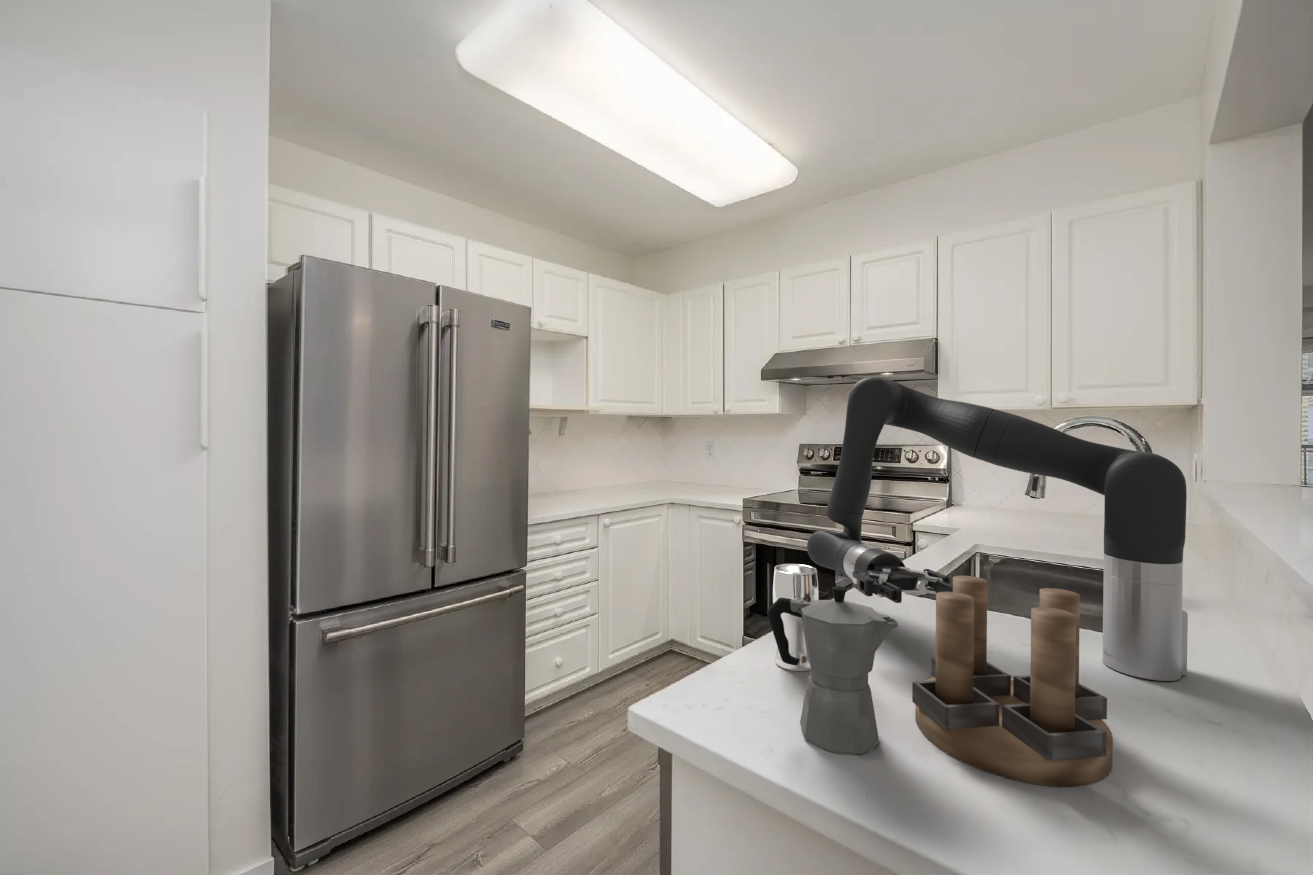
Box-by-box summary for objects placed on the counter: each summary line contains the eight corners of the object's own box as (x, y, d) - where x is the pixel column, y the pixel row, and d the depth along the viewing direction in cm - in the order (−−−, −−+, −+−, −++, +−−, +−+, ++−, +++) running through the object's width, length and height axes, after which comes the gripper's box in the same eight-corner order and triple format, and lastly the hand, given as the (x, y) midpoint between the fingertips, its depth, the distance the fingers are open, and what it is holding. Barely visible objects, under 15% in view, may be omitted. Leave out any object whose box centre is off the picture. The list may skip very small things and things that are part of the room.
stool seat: (1020, 691, 80) (1022, 571, 80) (1164, 780, 60) (1166, 619, 60) (884, 699, 78) (885, 575, 77) (986, 793, 58) (987, 627, 57)
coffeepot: (901, 729, 70) (902, 584, 70) (892, 770, 62) (893, 605, 61) (778, 701, 77) (778, 569, 77) (755, 734, 69) (756, 586, 69)
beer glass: (819, 674, 85) (820, 575, 85) (772, 670, 87) (772, 573, 87) (816, 656, 92) (816, 564, 92) (772, 653, 94) (772, 562, 93)
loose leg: (973, 677, 78) (973, 575, 77) (993, 690, 74) (994, 583, 74) (945, 678, 77) (946, 576, 77) (964, 692, 73) (965, 584, 73)
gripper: (834, 548, 100) (881, 571, 84) (911, 546, 102) (971, 569, 86) (834, 591, 100) (881, 622, 84) (910, 588, 102) (970, 618, 86)
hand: (926, 595), depth 85 cm, fingers open, 8 cm apart
